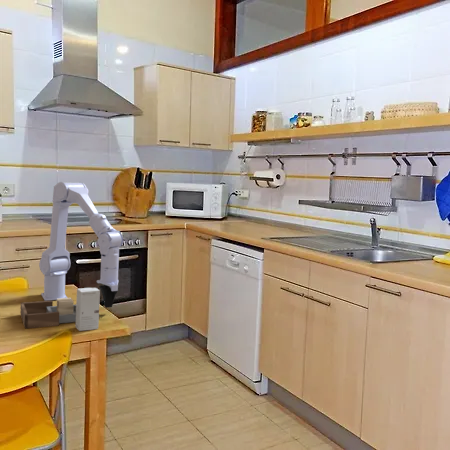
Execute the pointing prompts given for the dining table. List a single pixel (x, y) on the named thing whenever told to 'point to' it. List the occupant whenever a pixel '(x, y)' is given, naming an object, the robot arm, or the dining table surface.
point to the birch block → (65, 306)
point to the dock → (38, 314)
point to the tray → (65, 317)
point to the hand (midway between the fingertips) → (108, 306)
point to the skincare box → (87, 308)
